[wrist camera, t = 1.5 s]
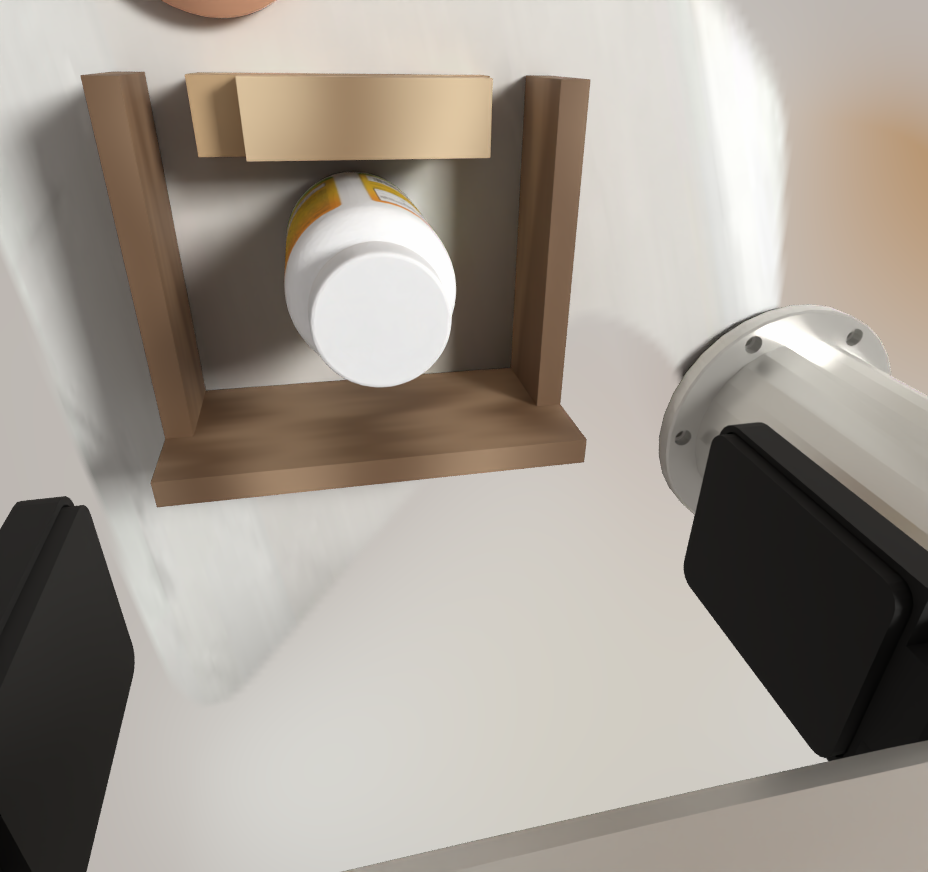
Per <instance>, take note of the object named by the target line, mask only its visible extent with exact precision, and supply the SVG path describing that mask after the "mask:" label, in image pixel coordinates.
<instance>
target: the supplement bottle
mask: <svg viewBox="0 0 928 872" xmlns="http://www.w3.org/2000/svg"><path fill="white" fill-rule="evenodd" d="M284 289H285V298H286V303H287V308H288V311H289V314H290V317H291V319H292V321H293V324H294V326H295V327H296V329H297V331H298V332H299V334H300V335H301V336H302V338H303V339H304V340H305V342H306V343H307V344H308V345H309V346H310V347H311V348H312V349H313V350H314V351H315V352H316V353H318V354H319V355H320V357H321V358H322V359H323V361H324V362H325V363H326V364H327V365H328V366H329V367H330V368H331V369H332V370H333V371H334V372H336V373H337V374H338V375H340V376H341V377H343V378H345V379H347V380H349V381H351V382H353V383H356V384H359V385H363V386H369V387H391V386H396V385H400V384H403V383H406V382H408V381H411V380H413V379H415V378H416V377H418V376H420V375H421V374H423V373H424V372H425V371H427V370H428V369H429V368H430V367H431V366H432V365H433V364H434V363H435V362H436V360H437V359H438V358H439V356H440V355H441V354H442V352H443V350H444V348H445V346H446V344H447V341H448V338H449V335H450V330H451V320H452V313H453V310H454V305H455V299H456V281H455V274H454V269H453V266H452V262H451V260H450V257H449V255H448V253H447V251H446V249H445V247H444V245H443V243H442V242H441V240H440V238H439V237H438V235H437V234H436V233H435V231H434V230H433V229H432V228H431V226H430V225H429V224H428V223H427V221H426V220H425V219H424V217H423V216H422V215H421V213H420V212H419V211H418V210H417V208H416V207H415V206H414V204H413V203H412V202H411V201H410V199H409V198H408V197H407V196H406V195H405V194H404V193H403V192H402V191H401V190H400V189H399V188H397V187H396V186H395V185H393V184H392V183H390V182H389V181H387V180H385V179H383V178H381V177H378V176H376V175H373V174H369V173H364V172H343V173H338V174H334V175H331V176H328V177H326V178H324V179H322V180H320V181H319V182H317V183H315V184H314V185H313V186H311V187H310V188H309V189H308V190H307V191H306V192H305V193H304V194H303V195H302V196H301V198H300V199H299V200H298V202H297V203H296V205H295V207H294V209H293V211H292V213H291V216H290V219H289V222H288V227H287V234H286V254H285V277H284Z"/></svg>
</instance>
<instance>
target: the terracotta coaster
mask: <svg viewBox="0 0 928 872" xmlns="http://www.w3.org/2000/svg"><path fill="white" fill-rule="evenodd" d="M161 1H163V2H165V3H167V4H169V5H171V6H173V7H175V8H178V9H181V10H183V11H186V12H189V13H192V14H196V15H200V16H204V17H212V18H235V17H240V16H245V15H249V14H252V13H254V12H257V11H260V10H262V9H264V8H265V7H267V6H269V5H271V4H272V3H274V2H275V1H276V0H161Z"/></svg>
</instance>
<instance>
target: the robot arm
mask: <svg viewBox="0 0 928 872" xmlns="http://www.w3.org/2000/svg"><path fill="white" fill-rule="evenodd" d="M659 458H660V464H661V469H662V473H663V475H664V477H665V479H666V482H667V484H668V486H669V488H670V489H671V490H672V491H673V493H674V494H675V495H676V496H677V498H678V499H679V500H680V501H681V503H682V504H683V505H685V506H686V507H687V508H688V509H689V510H690V511H691V512H692V513H693V514H695V516H694V521H693V525H692V530H691V534H690V538H689V542H688V547H687V551H686V556H685V560H684V574H685V578H686V580H687V583H688V585H689V586H690V588H691V589H692V590H693V592H694V593H695V594H696V596H697V597H698V598H699V600H700V601H701V602H702V604H703V605H704V606H705V608H706V609H707V610H708V612H709V613H710V614H711V616H712V617H713V618H714V620H715V621H716V622H717V624H718V625H719V626H720V628H721V629H722V630H723V632H724V633H725V634H726V636H727V637H728V638H729V640H730V641H731V642H732V644H733V645H734V646H735V648H736V649H737V650H738V652H739V653H740V654H741V656H742V657H743V658H744V660H745V661H746V663H747V664H748V665H749V666H750V668H751V669H752V671H753V672H754V673H755V675H756V676H757V677H758V679H759V680H760V681H761V682H762V684H763V685H764V687H765V688H766V689H767V691H768V692H769V693H770V695H771V696H772V697H773V698H774V700H775V701H776V703H777V704H778V705H779V707H780V708H781V709H782V711H783V712H784V713H785V715H786V716H787V717H788V719H789V720H790V721H791V723H792V724H793V725H794V726H795V728H796V729H797V730H798V732H799V733H800V735H801V736H802V737H803V738H804V740H805V741H806V743H807V744H808V745H809V747H810V748H811V749H812V750H813V751H814V752H815V753H816V754H817V755H819V756H820V757H824V758H827V760H828V762H824V763H819V764H815V765H811V766H805V767H801V768H797V769H792V770H787V771H783V772H779V773H774V774H769V775H765V776H760V777H756V778H751V779H746V780H742V781H738V782H733V783H728V784H724V785H719V786H715V787H711V788H706V789H701V790H697V791H693V792H688V793H684V794H679V795H675V796H670V797H666V798H661V799H657V800H653V801H648V802H644V803H640V804H635V805H630V806H626V807H622V808H617V809H613V810H608V811H604V812H599V813H595V814H591V815H586V816H582V817H578V818H573V819H569V820H564V821H560V822H555V823H551V824H547V825H543V826H538V827H533V828H529V829H525V830H520V831H516V832H511V833H507V834H503V835H498V836H494V837H489V838H485V839H481V840H476V841H472V842H467V843H463V844H459V845H455V846H450V847H446V848H442V849H438V850H434V851H429V852H424V853H420V854H416V855H412V856H407V857H403V858H399V859H394V860H390V861H386V862H382V863H377V864H373V865H369V866H364V867H360V868H356V869H351V870H347V871H343V872H928V396H927V395H925V394H923V393H921V392H920V391H918V390H916V389H914V388H912V387H911V386H909V385H907V384H905V383H903V382H901V381H899V380H898V379H896V378H894V377H892V376H891V369H890V364H889V359H888V354H887V352H886V350H885V348H884V346H883V344H882V342H881V340H880V338H879V337H878V336H877V335H876V334H875V333H874V331H873V330H872V329H871V328H870V327H869V326H868V325H866V324H865V323H863V322H861V321H860V320H858V319H856V318H855V317H853V316H851V315H848V314H847V313H844V312H842V311H839V310H837V309H835V308H832V307H826V306H820V305H814V304H807V305H791V306H787V307H783V308H779V309H775V310H771V311H767V312H765V313H763V314H761V315H758V316H756V317H754V318H752V319H749V320H747V321H745V322H743V323H742V324H740V325H739V326H737V327H735V328H734V329H732V330H731V331H729V332H728V333H726V334H725V335H723V336H722V337H721V338H720V339H718V340H717V341H716V342H715V343H714V344H713V345H712V346H710V347H709V348H708V349H707V350H706V351H705V352H704V353H703V354H702V355H701V356H700V357H699V358H698V359H697V361H696V362H695V363H694V364H693V365H692V366H691V368H690V369H689V370H688V371H687V372H686V374H685V375H684V377H683V379H682V380H681V382H680V383H679V385H678V387H677V388H676V390H675V392H674V393H673V395H672V398H671V400H670V402H669V405H668V407H667V409H666V412H665V414H664V418H663V422H662V427H661V431H660V435H659ZM134 663H135V662H134V650H133V646H132V642H131V639H130V636H129V633H128V630H127V627H126V624H125V620H124V617H123V614H122V611H121V608H120V605H119V602H118V598H117V595H116V592H115V589H114V586H113V583H112V580H111V577H110V574H109V570H108V567H107V564H106V561H105V558H104V555H103V551H102V549H101V546H100V542H99V539H98V536H97V533H96V530H95V527H94V523H93V520H92V517H91V514H90V512H89V510H88V508H87V507H86V506H84V505H80V506H74V504H73V502H72V501H71V500H70V498H68V497H66V496H64V497H54V498H45V499H36V500H27V501H20V502H17V503H16V504H15V505H14V507H13V508H12V510H11V512H10V514H9V515H8V517H7V519H6V520H5V522H4V524H3V525H2V527H1V529H0V872H86V871H87V867H88V863H89V858H90V855H91V850H92V846H93V842H94V838H95V833H96V829H97V825H98V820H99V817H100V813H101V808H102V804H103V800H104V796H105V791H106V787H107V783H108V779H109V774H110V770H111V766H112V762H113V758H114V754H115V749H116V745H117V741H118V737H119V733H120V728H121V724H122V720H123V716H124V711H125V707H126V703H127V699H128V695H129V690H130V686H131V682H132V678H133V673H134Z"/></svg>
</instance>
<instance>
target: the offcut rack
mask: <svg viewBox="0 0 928 872" xmlns="http://www.w3.org/2000/svg"><path fill="white" fill-rule="evenodd" d="M80 76H81V80H82V84H83V89H84V93H85V97H86V101H87V106H88V110H89V114H90V119H91V123H92V127H93V131H94V136H95V140H96V144H97V149H98V153H99V157H100V161H101V166H102V170H103V174H104V178H105V183H106V187H107V191H108V196H109V200H110V204H111V208H112V213H113V217H114V221H115V226H116V230H117V234H118V238H119V243H120V247H121V251H122V255H123V260H124V264H125V268H126V273H127V277H128V281H129V285H130V290H131V294H132V298H133V303H134V307H135V311H136V315H137V320H138V324H139V328H140V333H141V337H142V341H143V345H144V350H145V354H146V358H147V362H148V367H149V371H150V375H151V380H152V384H153V388H154V392H155V397H156V401H157V405H158V410H159V414H160V418H161V422H162V427H163V431H164V435H165V441H164V444H163V447H162V450H161V453H160V456H159V459H158V462H157V465H156V468H155V471H154V474H153V477H152V480H151V486H152V490H153V494H154V498H155V502H156V505H157V507H164V506H174V505H183V504H193V503H202V502H212V501H221V500H231V499H240V498H250V497H259V496H268V495H278V494H287V493H297V492H306V491H316V490H325V489H335V488H344V487H354V486H363V485H373V484H382V483H391V482H401V481H410V480H420V479H429V478H438V477H448V476H457V475H467V474H477V473H486V472H495V471H504V470H514V469H524V468H532V467H543V466H552V465H562V464H571V463H581V462H584V457H585V449H586V438H585V437H584V435H583V434H582V433H581V431H580V430H579V429H578V427H577V426H576V425H575V423H574V422H573V421H572V419H571V418H570V417H569V415H568V414H567V413H566V412H565V410H564V409H563V407H562V406H561V405H560V400H561V390H562V378H563V368H564V357H565V347H566V336H567V325H568V314H569V304H570V293H571V282H572V271H573V261H574V250H575V239H576V229H577V218H578V207H579V196H580V186H581V175H582V164H583V153H584V143H585V132H586V121H587V111H588V100H589V89H590V80H589V79H579V78H569V77H559V76H526V82H525V101H524V121H523V140H522V159H521V179H520V198H519V218H518V237H517V256H516V276H515V295H514V314H513V334H512V353H511V368H498V369H485V370H472V371H459V372H446V373H433V374H421V375H420V376H418V377H416V378H415V379H413V380H411V381H408V382H406V383H403V384H400V385H396V386H391V387H369V386H363V385H359V384H356V383H353V382H351V381H349V380H340V381H327V382H314V383H301V384H288V385H274V386H261V387H248V388H235V389H222V390H208V391H206V389H205V384H204V379H203V374H202V368H201V363H200V358H199V353H198V348H197V342H196V337H195V332H194V327H193V322H192V316H191V311H190V306H189V301H188V296H187V290H186V285H185V280H184V275H183V270H182V264H181V259H180V254H179V249H178V244H177V238H176V233H175V228H174V223H173V218H172V212H171V207H170V202H169V197H168V192H167V186H166V181H165V176H164V171H163V166H162V160H161V155H160V150H159V145H158V140H157V134H156V129H155V124H154V119H153V114H152V108H151V103H150V98H149V93H148V88H147V82H146V77H145V72H106V73H97V74H89V75H80ZM185 79H186V85H187V91H188V97H189V103H190V109H191V115H192V121H193V127H194V133H195V139H196V145H197V151H198V157H246V160H247V161H315V160H383V159H451V158H490V151H491V118H492V85H493V78H490V76H485V75H415V74H307V73H199V72H197V73H190V74H185Z"/></svg>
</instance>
